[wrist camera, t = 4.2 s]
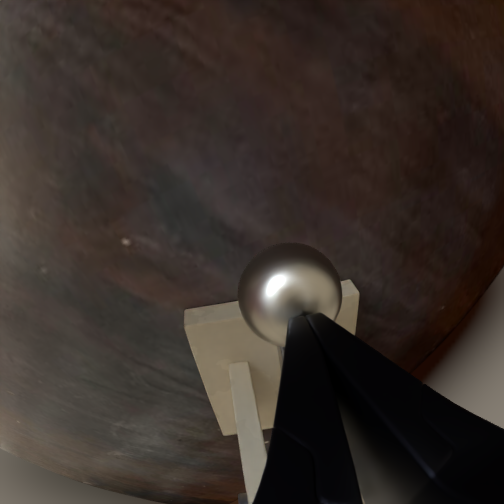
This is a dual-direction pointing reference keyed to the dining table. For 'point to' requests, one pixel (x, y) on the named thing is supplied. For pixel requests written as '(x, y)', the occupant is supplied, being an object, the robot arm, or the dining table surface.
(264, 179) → the dining table surface
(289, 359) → the robot arm
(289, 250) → the lever
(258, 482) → the bracket
